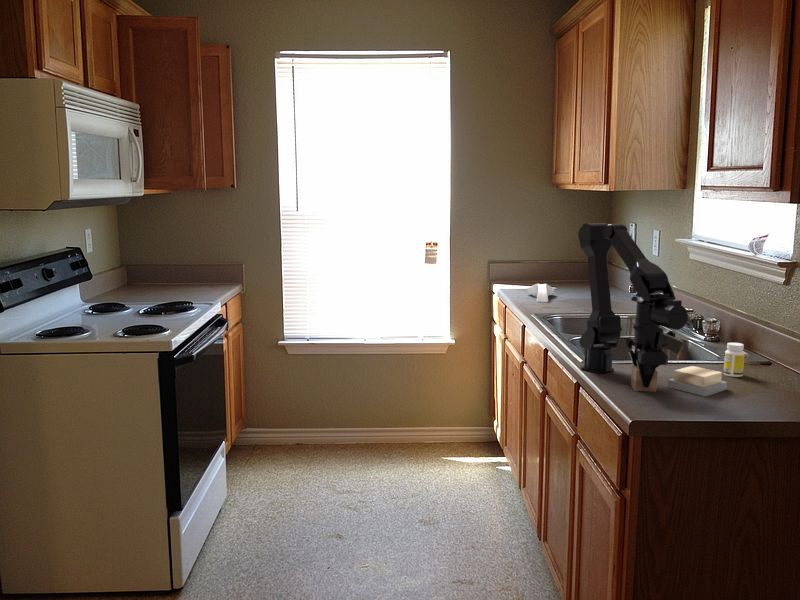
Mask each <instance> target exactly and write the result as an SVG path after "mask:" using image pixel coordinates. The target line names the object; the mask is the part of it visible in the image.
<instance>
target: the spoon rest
mask: <svg viewBox="0 0 800 600" xmlns="http://www.w3.org/2000/svg"><path fill="white" fill-rule="evenodd" d="M526 290H527V291H528V292H529V293H528V294H530V295H531V296H533V297H536V302H537V303H549V296H551V295H552V294H553V292H554V290H555V288H554V287H552V286H550V285H549V284H548V283H543V284H540V283H535V284H533V285H532V286H528V287H526Z"/></svg>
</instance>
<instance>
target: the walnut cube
mask: <svg viewBox="0 0 800 600" xmlns="http://www.w3.org/2000/svg"><path fill="white" fill-rule="evenodd" d="M658 373H659V371H658V370H657V368H656V369H655V371H654V374H653V376H652V379H651V382H650V385H649V387H644V386H643V383H642V380H641V376H640V373H639V369H638V366H634V365H631V377H630V378H631V379H630V380H631V381H630V386H631V388H632V389H633V390H634V391H635V392H657V386H658V385H657V383H658Z"/></svg>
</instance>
